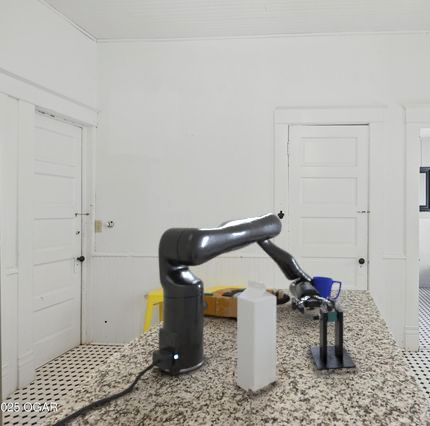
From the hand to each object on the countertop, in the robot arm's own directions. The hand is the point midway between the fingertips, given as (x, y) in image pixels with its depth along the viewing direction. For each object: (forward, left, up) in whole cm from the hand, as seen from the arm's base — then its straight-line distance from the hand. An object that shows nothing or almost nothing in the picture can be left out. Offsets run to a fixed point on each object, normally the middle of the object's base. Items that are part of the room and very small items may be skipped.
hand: (316, 309), depth 96 cm
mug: (+30, +12, -7) cm, 33 cm away
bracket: (-15, -12, -7) cm, 20 cm away
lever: (-11, -9, +1) cm, 15 cm away
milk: (-33, -3, -7) cm, 34 cm away
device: (+5, +33, -7) cm, 34 cm away
